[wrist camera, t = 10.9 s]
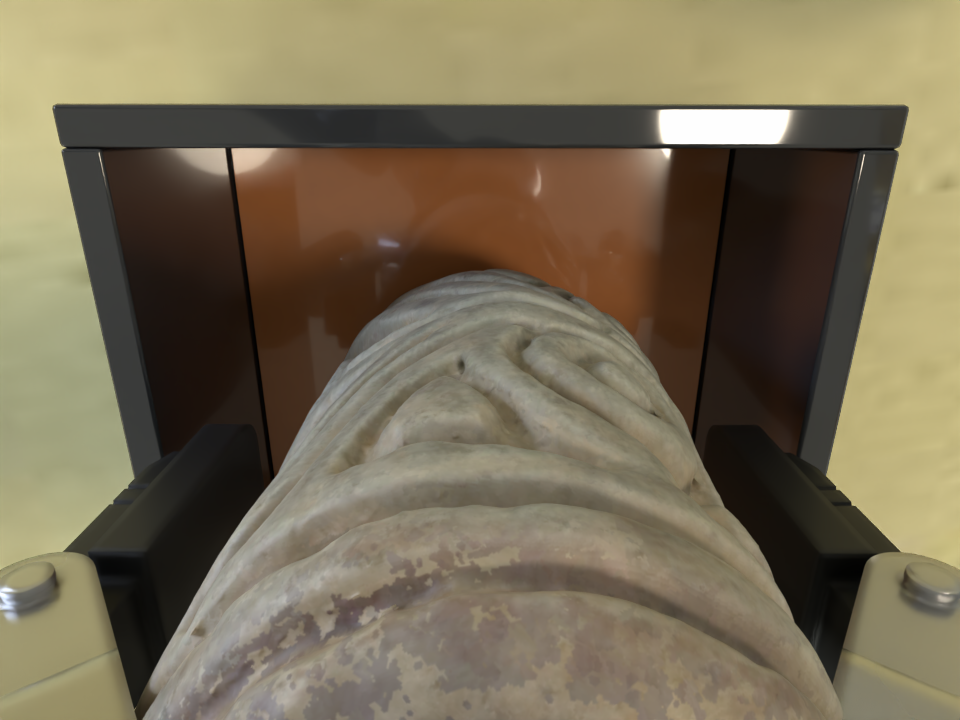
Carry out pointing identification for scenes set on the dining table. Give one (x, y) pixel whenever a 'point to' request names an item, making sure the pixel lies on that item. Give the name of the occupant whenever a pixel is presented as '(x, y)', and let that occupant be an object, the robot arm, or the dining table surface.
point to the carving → (490, 541)
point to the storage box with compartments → (476, 245)
